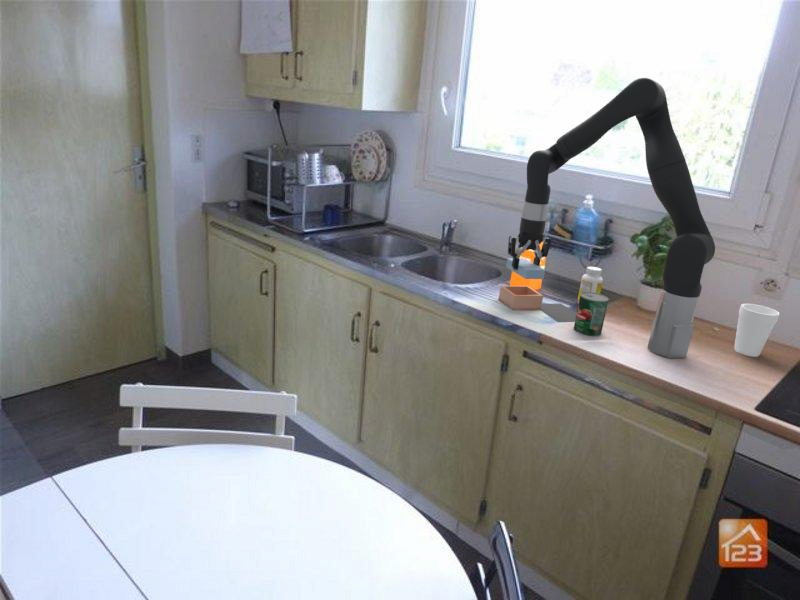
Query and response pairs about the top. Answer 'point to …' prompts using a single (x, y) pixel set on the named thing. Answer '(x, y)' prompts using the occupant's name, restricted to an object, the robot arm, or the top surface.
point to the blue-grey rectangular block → (526, 269)
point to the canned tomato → (590, 313)
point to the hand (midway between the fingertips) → (525, 269)
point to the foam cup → (754, 328)
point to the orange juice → (532, 283)
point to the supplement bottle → (591, 281)
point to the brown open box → (520, 297)
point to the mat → (559, 312)
